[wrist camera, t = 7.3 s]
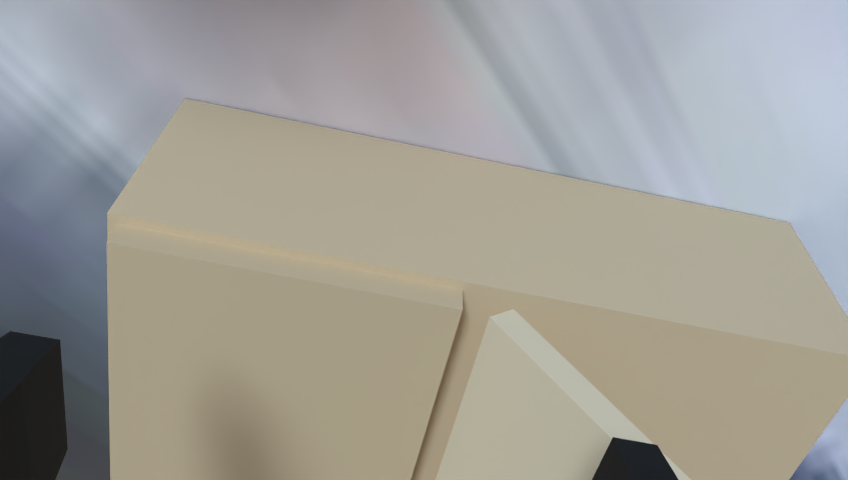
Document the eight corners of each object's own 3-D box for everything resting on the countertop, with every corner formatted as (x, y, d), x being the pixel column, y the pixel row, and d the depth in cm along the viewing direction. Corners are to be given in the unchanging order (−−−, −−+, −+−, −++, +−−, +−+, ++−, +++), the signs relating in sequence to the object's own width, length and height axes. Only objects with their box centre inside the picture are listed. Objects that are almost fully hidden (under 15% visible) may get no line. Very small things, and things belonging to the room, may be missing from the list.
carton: (789, 222, 20) (887, 381, 16) (624, 518, 27) (657, 691, 22) (184, 98, 19) (94, 231, 14) (169, 441, 26) (105, 607, 21)
